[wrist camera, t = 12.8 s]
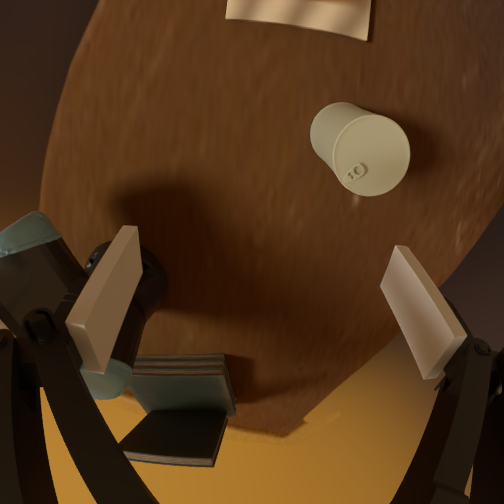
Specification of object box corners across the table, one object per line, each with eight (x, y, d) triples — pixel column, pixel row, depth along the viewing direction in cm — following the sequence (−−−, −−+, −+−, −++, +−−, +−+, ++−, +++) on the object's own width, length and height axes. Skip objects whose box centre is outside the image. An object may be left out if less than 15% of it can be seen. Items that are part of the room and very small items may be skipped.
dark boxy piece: (152, 396, 74) (138, 479, 53) (125, 352, 63) (99, 450, 42) (236, 397, 73) (236, 486, 52) (225, 351, 63) (221, 462, 42)
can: (296, 131, 39) (314, 154, 29) (345, 89, 36) (382, 97, 25) (338, 178, 43) (366, 214, 33) (384, 138, 39) (426, 164, 29)
